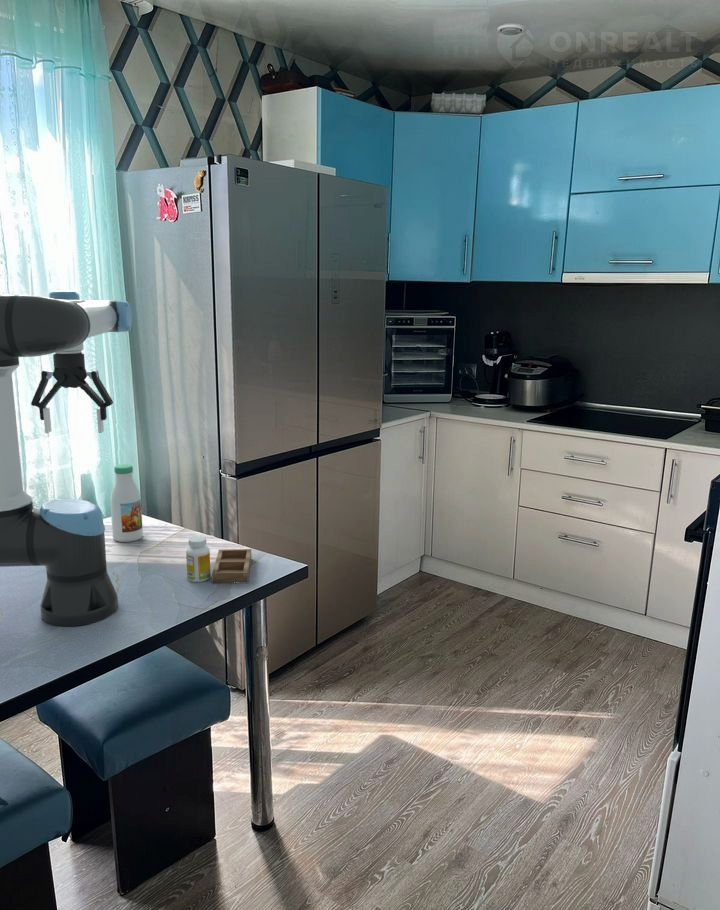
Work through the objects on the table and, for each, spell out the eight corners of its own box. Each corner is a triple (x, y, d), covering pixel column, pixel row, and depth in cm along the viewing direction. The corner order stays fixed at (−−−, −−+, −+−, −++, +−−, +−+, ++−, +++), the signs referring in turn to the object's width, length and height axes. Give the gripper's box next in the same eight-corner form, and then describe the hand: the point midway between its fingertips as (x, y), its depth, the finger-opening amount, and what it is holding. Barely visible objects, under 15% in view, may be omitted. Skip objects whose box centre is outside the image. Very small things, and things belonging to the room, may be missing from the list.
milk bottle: (111, 543, 190) (106, 470, 185) (114, 533, 197) (109, 462, 193) (141, 541, 191) (137, 469, 187) (144, 532, 199) (139, 461, 194)
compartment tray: (247, 582, 167) (247, 572, 166) (212, 583, 166) (212, 573, 165) (251, 558, 181) (251, 549, 181) (219, 559, 181) (218, 549, 180)
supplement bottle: (212, 573, 172) (211, 534, 170) (208, 582, 167) (207, 542, 164) (189, 573, 172) (188, 534, 169) (185, 582, 166) (183, 542, 164)
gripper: (121, 350, 191) (126, 429, 196) (23, 350, 189) (31, 429, 194) (114, 353, 184) (119, 434, 189) (12, 352, 182) (20, 435, 187)
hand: (74, 432), depth 192 cm, fingers open, 13 cm apart
